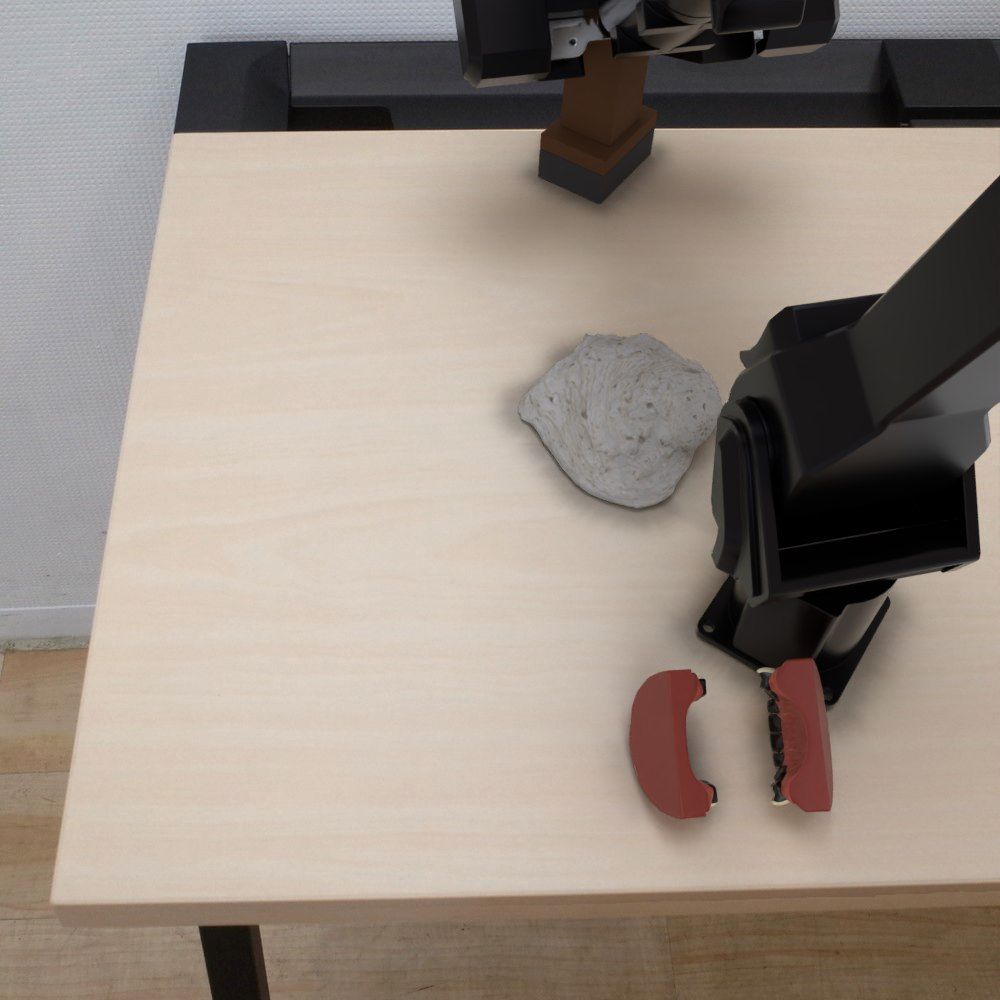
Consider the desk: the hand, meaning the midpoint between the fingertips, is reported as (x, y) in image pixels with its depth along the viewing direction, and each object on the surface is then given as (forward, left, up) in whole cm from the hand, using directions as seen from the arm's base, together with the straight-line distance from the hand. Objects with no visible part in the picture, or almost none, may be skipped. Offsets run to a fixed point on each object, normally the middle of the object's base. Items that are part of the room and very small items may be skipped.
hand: (601, 44), depth 61 cm
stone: (-18, -13, -7) cm, 23 cm away
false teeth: (-33, -22, -5) cm, 40 cm away
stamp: (-1, -1, -7) cm, 7 cm away
